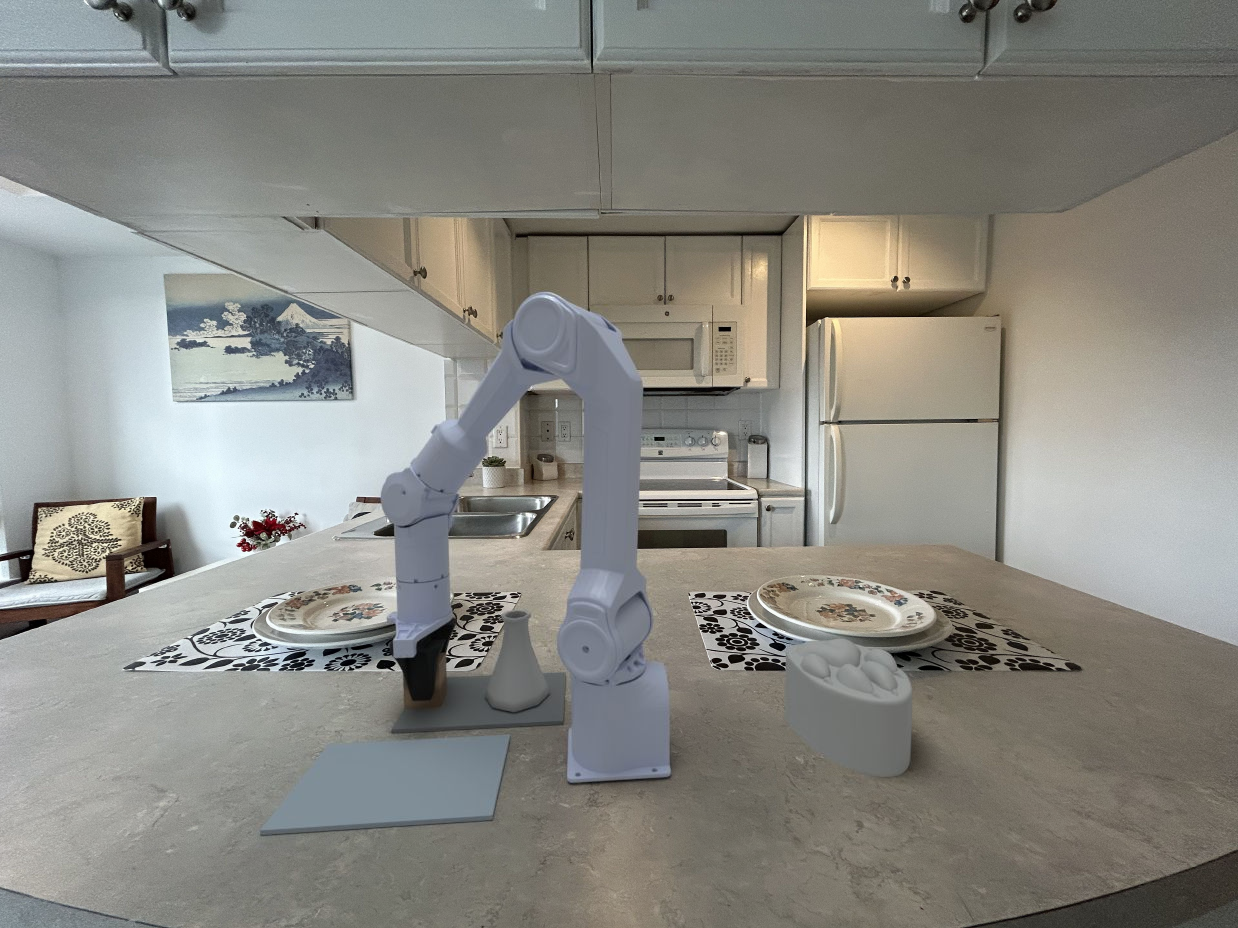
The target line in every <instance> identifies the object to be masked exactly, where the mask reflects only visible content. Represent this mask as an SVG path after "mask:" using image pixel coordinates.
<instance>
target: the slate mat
mask: <svg viewBox="0 0 1238 928" xmlns="http://www.w3.org/2000/svg"><path fill="white" fill-rule="evenodd" d="M510 740H511V734H496V735H495V734H494V735H476V736H473V735H472V736H458V737H436V738H420V739H402V740H396V739H395V740H382V741H379V740H378V741H377V740H376V741H363V742H362V741H361V742H360V741H359V742H344V743H340V742H339V743H328V744H327V745H326V746H325V748H324V749H323V750H322V752H320V754H319V755H318V756H317V758H316V759H315V760H314V762H313V763H312V764H311V765H310V767H309V768H308V769H307V771H306V772H305V773H304V774H303V775H302V777H301V778H300V779H299V781H297V783H296V784H295V785H294V787H293V788H292V789H291V791H289V793H288V795H287V796H286V797H285V798H284V799H283V801H282V802H281V804H280V805H279V806H278V807H277V809H276V810H275V811H274V812H273V814H272V815H271V816H270V817H269V818H268V820H267V821H266V823H265V824H263V826H262V828H261V829H260V831H259V832H260V833H259V834H260V836H267V835H283V834H284V835H285V834H298V833H299V834H300V833H311V832H312V833H314V832H330V831H345V830H347V831H348V830H360V829H362V830H363V829H374V828H375V829H377V828H389V827H392V828H393V827H403V826H408V827H409V826H422V825H435V824H452V823H453V824H454V823H465V822H466V823H467V822H480V821H481V822H483V821H492V820H493V819H494V815H495V809H496V804H497V802H498V796H499V791H500V786H501V783H502V779H503V777H502V776H503V774H504V773H503V772H504V768H505V764H506V759H507V755H508V750H509V745H510V742H511V741H510Z"/></svg>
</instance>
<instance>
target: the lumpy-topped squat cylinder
mask: <svg viewBox="0 0 1238 928" xmlns="http://www.w3.org/2000/svg"><path fill="white" fill-rule="evenodd" d="M784 680H785V681H784V682H785V685H784V687H785V692H784V716H785V718H786V720H787V722H788V724H790V726H791V728H792V729H793V730H794V731H795V734H797V736H799V737H800V739H801V740H802V741H803V742H804V743H805V744H806V745H807V746H808V747H809V748H810V749H812V750H813V751H814V752H816V753H817V754H819V755H820V756H822V757H824V758H826V759H828V760H829V761H831V762H834V763H836V764H837V765H840V766H842V767H843V768H846V769H849V770H852V771H854V772H858V773H862V774H865V775H868V776H874V777H880V778H893V777H897V776H900V775H902V774H904V773H905V772H906V771H907V769H908V768H909V766H910V765H911V764H910V763H911V755H912V753H911V752H912V751H911V750H912V749H911V748H912V725H913V724H912V723H913V700H914V698H913V697H914V695H913V693H914V692H913V686H912V683H911V681H910V679H909V676H908V675H907V674H906V673H905V672H904V671H903V670H902V669H900V668H899V667H898V666H897V661H896V660H895V658H894V657H893V656H892V654H891V653H890V652H888V651H886V650H883V649H881V648H873V649H870V648H868V647H865V646H863V645H860V644H856V643H854V642H853V641H851V640H849V639H846V638H841V637H840V638H835V639H829V640H828V639H827V640H808V641H805V642H804V643H801V644H793V645H791V646H789V647H788V648H787V650H786V652H785V679H784Z"/></svg>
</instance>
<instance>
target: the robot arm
mask: <svg viewBox="0 0 1238 928" xmlns="http://www.w3.org/2000/svg"><path fill="white" fill-rule="evenodd" d="M515 312H516V313H515V315H514V318H513V319H511V320H510V321H509V322H508V323H507V324H506V325H505V326H504V328H503V331H502V340H501V348H500V350H499V352H498V354H497V356H496V357H495V359H494V360H493V362H492V363H491V365H490V367H489V368H488V370H487V372H486V374H485V375H484V376H483V378H482V380H481V382H480V383H479V384H478V386H477V387H476V389H475V391H474V392H473V394H472V396H471V397H470V399H469V401H468V403H467V404H466V405H465V407H464V409H463V411H462V412H461V414H460V416H459V417H458V418H457V419H455V418H453V419H452V418H451V419H446V420H443V421H442V422H440V423H436V424H434V427H433V428H432V430H431V431H430V433H431V436H430V438H429V439H428V441H427V442H426V444H425V445H424V446H423V448H422V449H421V450H420V451H419V453H418V454H417V455H416V457H414V458H413V459H412V460H411V462H410V465H409V466H408V467H405V468H404V469H403V470H402V471H397V472H396V471H395V472H392V473H391V474H389V475H387V477H386V479H385V481H384V483H383V485H382V488H381V491H380V505H381V508H382V511H383V514H384V515H385V517H386V518H387V519H388V520H389V522H390V523H392V524H393V528H394V529H393V531H394V532H393V533H394V556H395V557H394V558H395V559H394V561H395V563H394V564H395V565H394V566H395V587H396V609H397V610H396V611H392V612H390V613H389V614H388V615H387V616H386V623H387V624H395V633H396V634H395V637H394V638H393V640H391V642H390V643H389V646H388V647H389V653H390V655H391V657H393V659H394V660H395V662H396V663H397V664H398V666H399V667H400V671H401V672H402V675H403V674H404V677H405V680H406V683H407V686H408V690H409V693H410V696H411V699H412V701H426V700H431V698H432V696H433V693H434V688H435V679H436V670H437V664H438V659H439V656H440V653H446V654H447V652H448V651H447V650H448V646H449V643H450V640H451V638H452V635H453V633H454V630H455V627H456V626H457V621H458V620H457V618H456V617H453V616H454V615H453V608H452V605H451V581H450V578H451V577H450V575H451V574H450V549H449V548H450V547H449V546H450V545H449V532H450V530H451V528H453V523H452V521H453V520H452V519H453V515H454V513H455V512H456V510H457V509H458V506H459V502H460V493H458V492H459V490H460V489H461V488H462V487H463V485H464V484H466V481H467V480H468V479H469V477H470V476H471V475H472V474H473V472H475V470H476V469H477V468H478V466H479V465H480V464H481V462H482V461H483V460H484V458H485V457H486V456H487V455H488V451H489V449H488V448H489V447H488V442H487V437H488V436H489V435H490V434H491V432H492V431H493V430H494V429H495V427H497V425H499V423H500V422H501V421H502V420H503V419H504V418H505V417H506V415H507V414H508V413H509V412H510V411H511V409H512V408H513V407H514V406H515V405H516V404H517V403H518V402H519V401H520V400H521V399H522V397H523V396H524V395H525V394H526V393H527V392H528V391H529V390H530V388H531V387H532V386H535V385H539V384H544V383H545V384H546V383H549V382H553V381H559V380H562V381H563V382H564V383H565V384H566V385H567V386H568V387H569V389H571V390H572V391H573V392H574V393H575V394H576V395H577V396H578V397H579V398H580V399H581V400H582V402H584V418H583V419H584V420H583V423H584V425H583V426H584V427H583V428H584V429H583V459H582V461H583V463H582V464H583V465H582V466H583V467H582V497H581V498H582V500H581V501H582V502H581V534H580V535H581V537H580V567H579V572H578V575H577V576H576V579H575V581H574V583H573V585H572V588H571V589H570V592H569V594H568V596H567V599H566V612H565V616H564V620H563V622H562V623H561V625H560V627H559V629H558V630H557V631H558V632H557V635H556V648H557V653H558V657H559V659H560V661H561V663H562V664H563V666H564V667H565V669H566V670H567V671H568V672H569V677H570V690H571V691H570V693H571V694H570V697H571V698H570V700H571V701H570V702H571V703H570V704H571V708H570V709H571V713H570V714H571V726H570V727H569V729H568V730H567V731H568V733H567V734H568V735H567V765H566V770H567V771H566V780H567V782H569V783H571V784H575V783H589V782H590V783H591V782H605V781H619V780H620V781H622V780H636V779H637V780H638V779H651V778H652V779H654V778H655V779H656V778H668V777H669V776H671V774H672V769H671V765H670V759H671V757H670V756H671V755H670V753H671V752H670V750H671V749H670V747H671V746H670V745H671V744H670V742H671V741H670V739H671V737H670V735H671V734H670V731H671V728H670V725H671V724H670V723H671V722H670V718H671V717H670V715H671V713H670V711H671V708H670V707H671V705H670V703H671V702H670V692H669V691H670V690H669V688H670V687H669V680H668V676H667V671H666V666H665V664H664V663H663V662H659V661H651V660H646V657H645V652H644V642H645V640H646V639H648V637H649V636H650V634H651V632H652V630H653V628H654V627H653V626H654V620H655V619H654V611H653V608H652V605H651V603H650V601H649V599H648V596H647V578H646V576H644V574H643V573H642V572H641V571H640V570H639V569H638V567H637V565H638V564H637V563H638V562H637V561H638V538H639V537H638V535H639V514H640V512H639V511H640V509H639V508H640V482H641V455H642V454H641V453H642V429H643V427H642V426H643V404H644V403H643V401H644V385H643V379H642V377H641V375H640V372H639V370H638V369H637V367H636V365H635V363H634V361H633V360H632V358H631V356H630V353H629V352H628V350H627V348H626V346H625V344H624V342H623V333H622V331H621V330H620V329H619V328H618V327H617V326H615V325H614V324H612V322H610V321H609V320H608V319H606V318H605V317H604V316H602V315H601V314H599V313H596V312H594V311H593V312H592V311H589V310H587V309H584V308H583V307H580V306H578V305H576V304H574V303H572V302H570V301H567V300H566V299H565V298H564V297H562V296H560V295H558V294H556V293H554V292H550V291H549V292H548V291H542V292H541V291H540V292H537V293H534V294H532V295H529V297H527V298H526V299H525V300H523V302H522V303H521V304H520V306H519V307H518V309H517V310H516V311H515Z"/></svg>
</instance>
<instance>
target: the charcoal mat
mask: <svg viewBox="0 0 1238 928" xmlns="http://www.w3.org/2000/svg"><path fill="white" fill-rule="evenodd" d="M447 673H448V672H447V652H446V653H440V656H439V659H438V664H437V670H436V679H435V688H434V693H433V696H432V698H431V700H426V701H412V699H411V696H410V693H409V690H408V686H407V683H406V680H405V677H404V674H403V673H402V685H403V686H402V687H403V689H402V690H403V710H402V711H401V713H400V714H399V716H398V718H397V719H396V721H395V723H394V724H393V726H392V727H391V729H390V734H399V733H401V734H402V733H418V732H421V733H423V732H440V731H459V730H460V731H461V730H476V729H478V730H479V729H495V728H496V729H498V728H500V729H501V728H515V727H516V728H519V727H520V728H521V727H534V726H535V727H536V726H537V727H538V726H554V725H555V726H556V725H557V726H559V725H564V719H565V718H564V717H565V715H564V714H565V699H566V697H565V695H566V692H565V691H566V675H567V674H566V671H561V672H560V671H559V672H542V673H543V675H544V678H545V680H546V682H547V685H548V687H549V690H550V693H549V694H548V695H547V696H546V697H545V698H544V699H543V700H542V701H541V702H540V703H539V704H538V705H536V706H532V707H529V708H526V709H523V710H520V711H517V712H511V711H506V710H502V709H497V708H493V707H492V706H491V705H490V703H489V702H488V700H487V699H486V698H485V693H486V690H487V687H488V684H489V682H490V679H491V676H492V674H490V675H468V676H447V675H448V674H447Z"/></svg>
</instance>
